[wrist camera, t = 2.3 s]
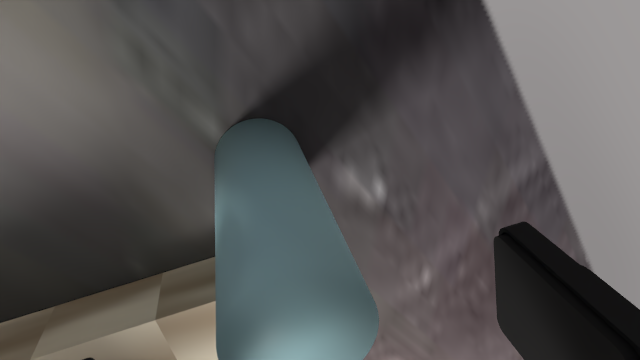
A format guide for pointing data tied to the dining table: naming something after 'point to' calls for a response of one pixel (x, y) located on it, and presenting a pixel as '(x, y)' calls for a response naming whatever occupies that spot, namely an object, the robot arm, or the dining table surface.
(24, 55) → the dining table surface
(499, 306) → the robot arm
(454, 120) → the dining table surface
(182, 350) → the socket block
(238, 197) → the peg
